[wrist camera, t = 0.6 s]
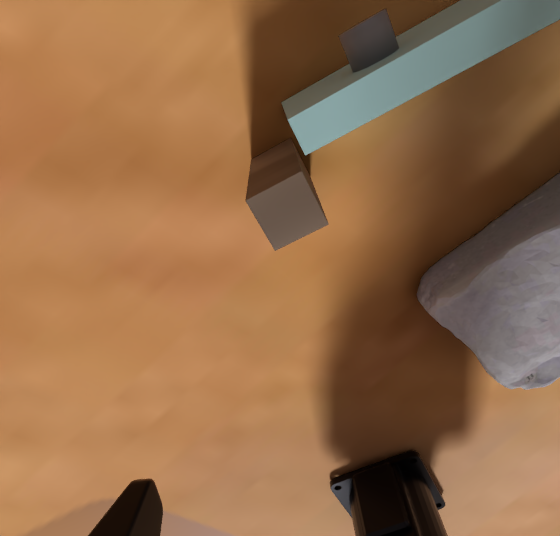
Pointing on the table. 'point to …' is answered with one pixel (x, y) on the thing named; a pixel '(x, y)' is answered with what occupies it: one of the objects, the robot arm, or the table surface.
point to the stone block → (506, 292)
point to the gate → (408, 62)
